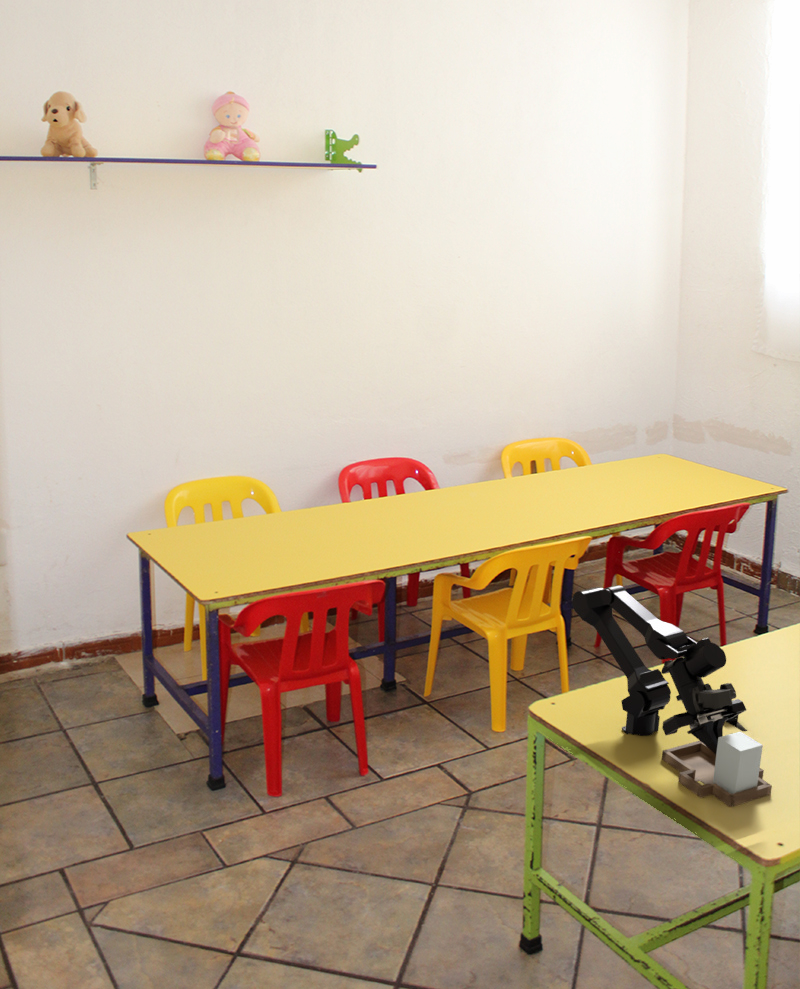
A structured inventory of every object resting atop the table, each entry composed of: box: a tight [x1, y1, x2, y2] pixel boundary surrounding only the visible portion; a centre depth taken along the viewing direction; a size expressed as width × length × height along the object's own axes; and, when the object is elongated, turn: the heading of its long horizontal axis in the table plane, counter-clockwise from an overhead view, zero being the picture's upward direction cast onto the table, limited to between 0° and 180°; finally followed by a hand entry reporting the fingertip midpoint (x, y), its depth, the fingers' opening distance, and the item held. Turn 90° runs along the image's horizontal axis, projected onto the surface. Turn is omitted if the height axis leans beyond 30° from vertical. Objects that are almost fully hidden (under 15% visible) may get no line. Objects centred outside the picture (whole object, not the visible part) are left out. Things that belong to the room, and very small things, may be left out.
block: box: [713, 731, 764, 794], centre depth 199 cm, size 6×6×11 cm
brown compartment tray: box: [661, 740, 773, 808], centre depth 205 cm, size 20×17×3 cm
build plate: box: [725, 715, 748, 732], centre depth 230 cm, size 12×7×5 cm, turn 12°
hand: (721, 756), depth 203 cm, fingers closed
